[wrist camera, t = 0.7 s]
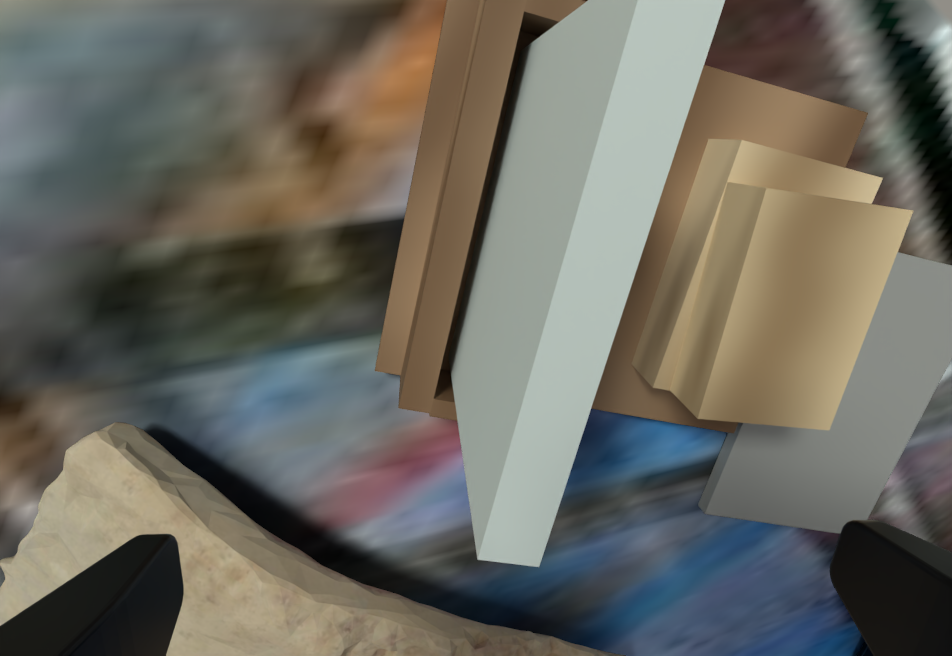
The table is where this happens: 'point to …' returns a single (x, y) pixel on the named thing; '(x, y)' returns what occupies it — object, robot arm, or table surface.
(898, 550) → the robot arm
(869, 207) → the offcut upper
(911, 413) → the mat
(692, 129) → the rack
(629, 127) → the panel
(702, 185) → the offcut lower
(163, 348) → the table surface
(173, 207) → the table surface
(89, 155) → the table surface
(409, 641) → the tan curved tapered piece
